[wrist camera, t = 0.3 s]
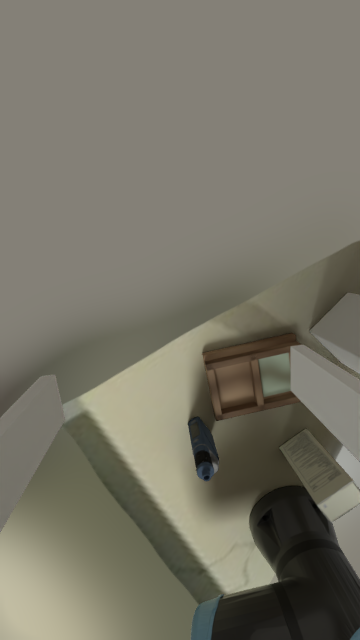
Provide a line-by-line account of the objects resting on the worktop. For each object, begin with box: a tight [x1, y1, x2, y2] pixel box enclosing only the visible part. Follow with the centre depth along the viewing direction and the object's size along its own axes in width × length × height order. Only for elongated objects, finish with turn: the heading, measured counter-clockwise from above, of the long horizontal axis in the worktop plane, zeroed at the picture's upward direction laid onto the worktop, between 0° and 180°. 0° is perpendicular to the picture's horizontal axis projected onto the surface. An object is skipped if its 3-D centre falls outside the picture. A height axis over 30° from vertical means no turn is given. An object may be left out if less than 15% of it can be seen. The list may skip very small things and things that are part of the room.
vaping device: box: [188, 417, 219, 481], centre depth 42 cm, size 3×5×12 cm, turn 35°
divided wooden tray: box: [202, 333, 301, 421], centre depth 45 cm, size 12×15×3 cm
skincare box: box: [279, 429, 360, 523], centre depth 44 cm, size 6×4×12 cm
